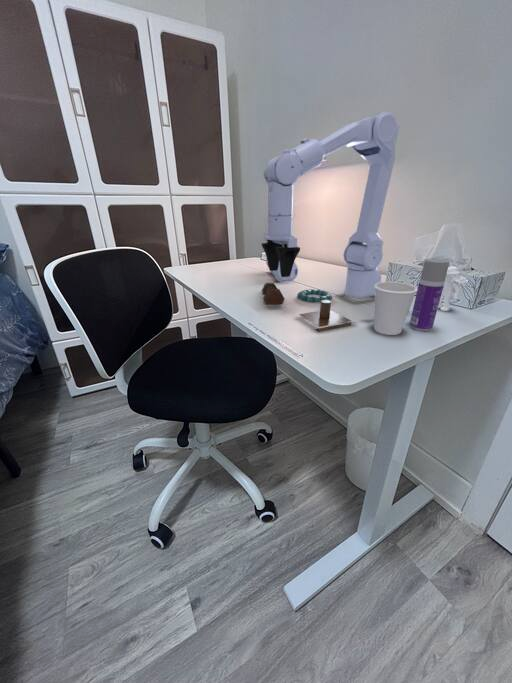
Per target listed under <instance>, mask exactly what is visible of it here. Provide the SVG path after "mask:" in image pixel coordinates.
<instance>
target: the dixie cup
mask: <svg viewBox="0 0 512 683" xmlns="http://www.w3.org/2000/svg"><path fill="white" fill-rule="evenodd" d="M374 287H375V295H374V310H373V311H374V312H373V313H374V314H373V330H374V331H375V332H377V333H378V334H381V335H386V336H396V335H397V336H398V335H400V334H401V333H402V331H403V328H404V325H405V323H406V320H407V317H408V314H409V312H410V310H411V306H412V304H413V301H414V299H415V297H416V293H417V291H418V287H417V286H415V285H413V284H410V283H406V282H401V281H381V282H380V283H377V284H375V286H374Z"/></svg>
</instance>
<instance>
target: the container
mask: <svg viewBox="0 0 512 683" xmlns="http://www.w3.org/2000/svg"><path fill="white" fill-rule="evenodd" d="M448 267H450V260H448V259H444V258H443V259H442V258H425V259H424V262H423V266H422V270H421V274H420V276H419V281H418V284H417V289H418V291H417V292H416V293H415V297H414V303H413V307H412V311H411V315H410V320H409V324H408V326H409V328H410V329H412V330H416V331H419V332H431V331H432V330H433V327H434V324H435V320H436V316H437V312H438V309H439V308H438V305H439V301H440V298H441V294H442V290H443V287H444V282H445V278H446V274H447V270H448Z"/></svg>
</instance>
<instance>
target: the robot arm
mask: <svg viewBox="0 0 512 683" xmlns="http://www.w3.org/2000/svg"><path fill="white" fill-rule="evenodd" d="M399 130H400V125H399V123H398V121H397V118H396V117H395V115H394V114H393V113H392V112H391V111H383V112H381V113H380V114H377V115H372V116H370V117H366V118H363V119H360V120H357V121H354V122H351V123H348V124H346V125H344V126H343V127H341V128H340V129H338V130H336V131H334V132H332V133H331V134H329V135H327V136H326V137H324V138H322V139H321V140H317V139H316V138H310V139H309V137H305V138H303V139H301V140H300V144H299V145H296V146H295V147H293V148H291V149H290V148H286V149H283V151H282V155H279V156H275V157H273V158H271V159H270V160H268V163H266V166H265V169H264V171H263V178H264V180H265V182H266V183H267V187H268V192H267V193H268V194H267V196H268V197H267V198H268V200H267V205H268V206H267V208H268V210H267V216H268V217H267V218H268V219H267V221H268V222H267V226H268V227H267V228H268V230H267V232H265V234H264V235H263V240H265V242H262V243H261V247H262V249H263V251H264V254H265V256H266V258H267V261H268V266H269V268H268V270H269V271H270V272H271V271H276V270H278V266H279V262H280V273H281V277H289V276H290V274H291V271H292V267H293V264H294V261H295V262H296V259H297V256H298V255H299V253H300V252H301V246H300V247H299V246H298V238H297V237H295V236H294V235H293V214H294V213H293V209H294V185H295V183H296V182H297V180H298V179H300V177H302V176H304V175H306V174H307V173H309V172H311V171H313V170H315V169H316V168H318V167H320V166H321V165H322V164H323V162H324V158H325V157H326V156H328V155H329V154H332V153H334V152H336V151H338V150H340V149H342V148H343V147H347V148H349V147H350V148H352V151H354V152H355V153H357V154H358V155H359V156H360V157H361V158H362V159H363V160H365V161H366V163H367V164H368V166H369V169H368V174H367V179H366V184H365V188H364V194H363V199H362V203H361V208H360V213H359V216H358V217H359V218H358V222H357V227H356V231H355V232H354V233H353V234H352V235H351V236H350V237H349V238H348V243H347V245H346V246H345V248H344V250H343V260H344V262H345V264H346V265H345V266H346V267H347V269H346V277H345V285H344V286H345V287H344V296H346V297H349V298H355V299H366V298H370V297H373V296H374V297H375V287H374V286H375V284H377V283H380V282H382V273H381V271H380V269H379V268H378V266H380V264H381V262H382V260H383V254H384V252H383V246H384V241H383V239H382V238H381V236H380V235H379V233H378V232H379V228H380V224H381V219H382V215H383V212H384V207H385V202H386V198H387V194H388V190H389V186H390V182H391V178H392V173H393V168H394V164H395V160H396V144H397V140H398V135H399ZM268 266H267V267H268Z"/></svg>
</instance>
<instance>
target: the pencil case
mask: <svg viewBox="0 0 512 683" xmlns="http://www.w3.org/2000/svg"><path fill="white" fill-rule="evenodd" d="M265 264H266V266H267V268H268V269H269V266H268V261H267V257H266V258H265ZM270 272H271V273H272V275H273V276H274V277H275V279H276V280H277V281H278V282H280V283H288V282H294V281H295V279H296V278H297V277H298V274H299V269H298V264H297V263H296V260H295V261H294V264H293V267H292V271H291V274H290V276H289V277H281V273H280V262H279V266H278V270H276V271H270Z"/></svg>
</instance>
